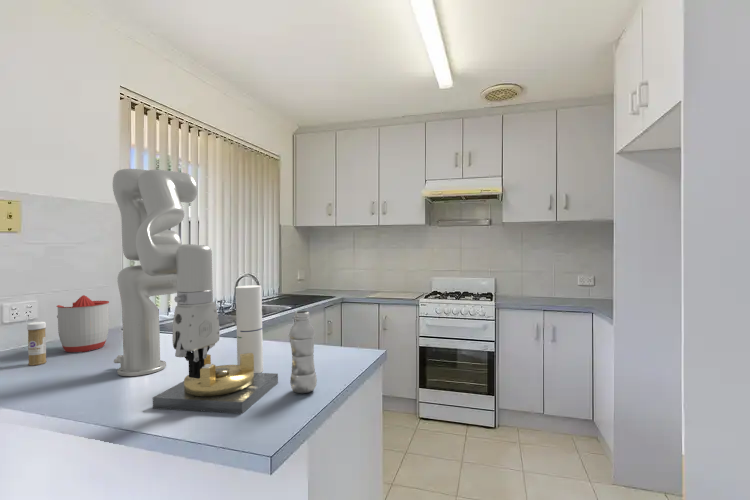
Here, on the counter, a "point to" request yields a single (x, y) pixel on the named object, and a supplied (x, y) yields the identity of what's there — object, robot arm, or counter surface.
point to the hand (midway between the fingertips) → (196, 376)
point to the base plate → (216, 397)
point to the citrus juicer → (83, 325)
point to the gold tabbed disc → (221, 377)
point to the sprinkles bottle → (36, 343)
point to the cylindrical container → (249, 324)
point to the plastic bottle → (302, 354)
